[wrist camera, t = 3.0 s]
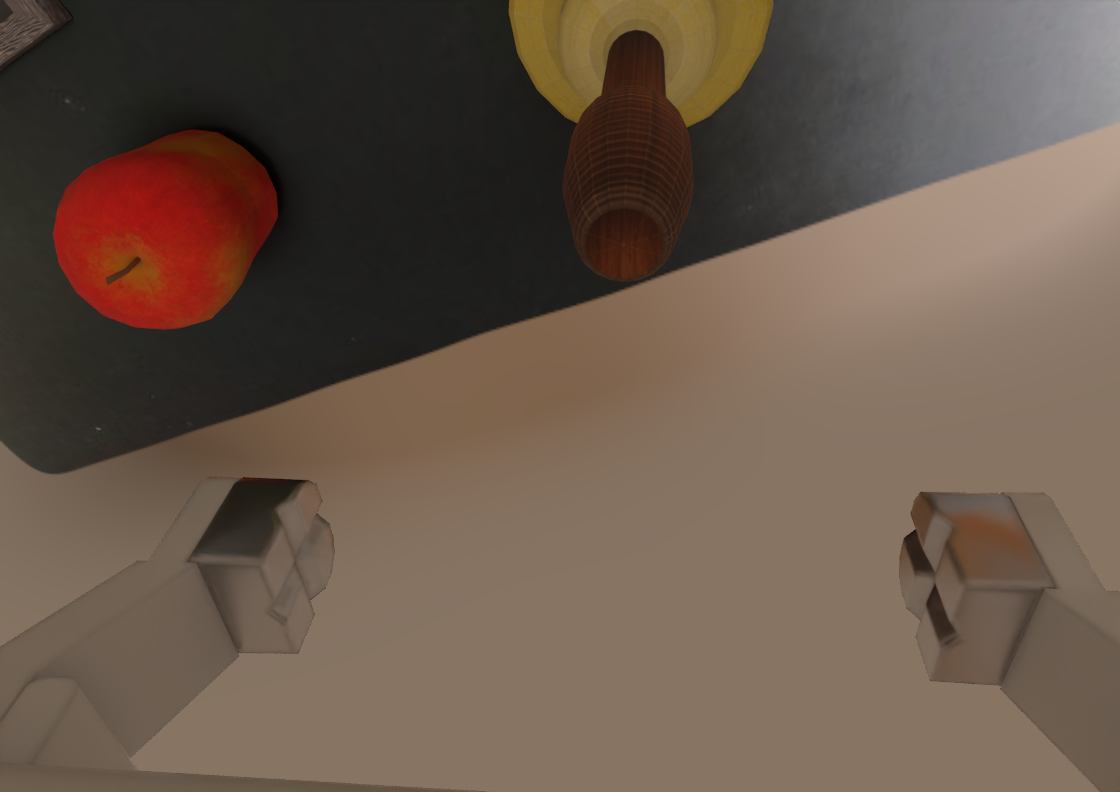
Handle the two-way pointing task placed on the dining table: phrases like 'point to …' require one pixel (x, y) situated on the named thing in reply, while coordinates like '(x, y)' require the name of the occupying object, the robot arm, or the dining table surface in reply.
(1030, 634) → the robot arm
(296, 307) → the dining table surface
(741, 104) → the dining table surface
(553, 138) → the dining table surface
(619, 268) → the handbell
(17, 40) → the picture frame
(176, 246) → the apple
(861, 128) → the dining table surface
